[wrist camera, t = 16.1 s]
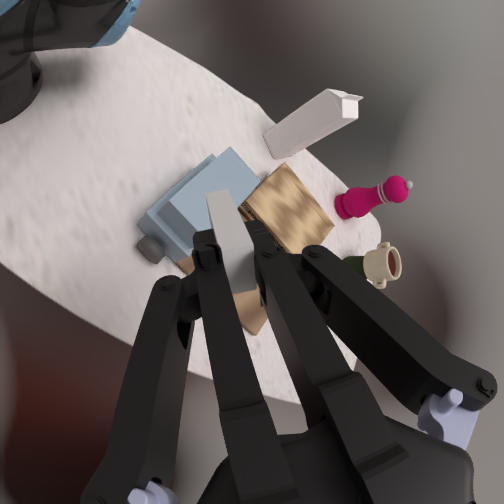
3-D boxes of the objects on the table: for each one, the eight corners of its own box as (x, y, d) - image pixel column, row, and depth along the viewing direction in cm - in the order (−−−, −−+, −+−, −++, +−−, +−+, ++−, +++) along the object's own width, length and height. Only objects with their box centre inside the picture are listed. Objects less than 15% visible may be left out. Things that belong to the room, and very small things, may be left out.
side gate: (246, 200, 46) (285, 162, 49) (242, 202, 47) (280, 164, 50) (303, 266, 51) (334, 225, 54) (298, 265, 52) (329, 225, 55)
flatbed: (174, 262, 41) (177, 261, 39) (229, 201, 48) (234, 197, 46) (252, 335, 46) (258, 336, 45) (292, 271, 53) (299, 270, 52)
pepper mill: (345, 227, 65) (417, 207, 49) (329, 204, 63) (402, 178, 47) (354, 209, 69) (420, 188, 52) (339, 188, 67) (406, 162, 50)
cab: (125, 236, 37) (140, 213, 27) (204, 162, 46) (239, 129, 37) (163, 274, 39) (191, 266, 30) (235, 195, 49) (275, 170, 39)
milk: (291, 156, 59) (372, 112, 41) (273, 159, 55) (357, 110, 37) (280, 132, 58) (356, 83, 40) (261, 134, 55) (340, 79, 37)
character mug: (352, 296, 63) (399, 293, 52) (334, 286, 60) (384, 281, 49) (358, 255, 67) (403, 247, 56) (342, 243, 64) (388, 232, 53)
